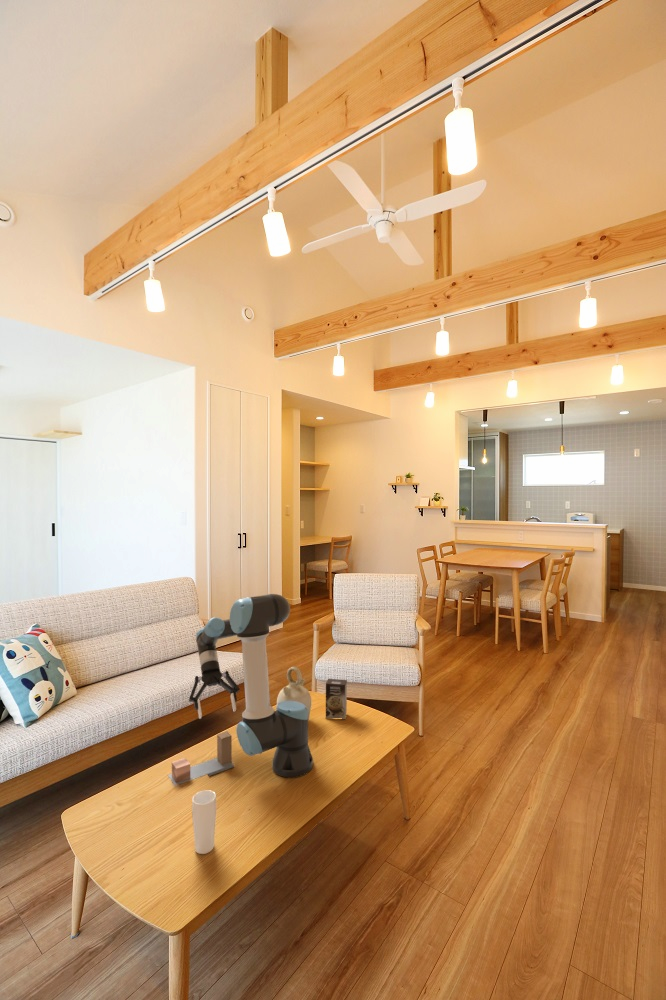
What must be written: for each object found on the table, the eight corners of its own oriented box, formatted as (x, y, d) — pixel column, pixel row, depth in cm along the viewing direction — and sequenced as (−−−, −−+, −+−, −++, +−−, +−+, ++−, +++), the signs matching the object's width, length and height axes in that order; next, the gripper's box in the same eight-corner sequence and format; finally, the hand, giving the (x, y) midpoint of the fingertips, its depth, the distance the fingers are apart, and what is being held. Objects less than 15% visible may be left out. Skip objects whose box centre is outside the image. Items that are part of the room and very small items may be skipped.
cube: (190, 777, 169) (190, 763, 169) (176, 782, 166) (176, 768, 166) (185, 771, 173) (185, 757, 173) (171, 775, 170) (171, 762, 170)
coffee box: (325, 719, 215) (325, 683, 215) (327, 712, 221) (327, 678, 221) (345, 720, 213) (345, 684, 213) (347, 713, 220) (347, 679, 220)
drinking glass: (195, 840, 140) (194, 790, 140) (218, 839, 141) (218, 789, 141) (190, 858, 134) (189, 805, 133) (214, 856, 134) (214, 804, 134)
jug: (299, 711, 222) (299, 658, 222) (318, 724, 210) (318, 668, 209) (270, 721, 213) (270, 665, 213) (288, 735, 201) (288, 676, 200)
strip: (233, 766, 178) (233, 737, 177) (174, 788, 165) (174, 757, 164) (225, 757, 184) (224, 729, 184) (167, 777, 171) (167, 747, 171)
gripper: (236, 663, 210) (246, 711, 197) (178, 673, 199) (184, 724, 186) (240, 655, 205) (250, 703, 192) (180, 664, 194) (186, 716, 181)
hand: (217, 713), depth 189 cm, fingers open, 13 cm apart
